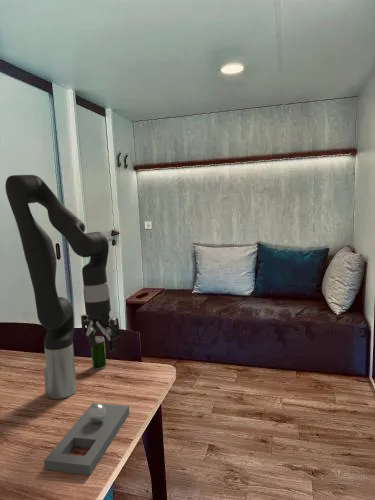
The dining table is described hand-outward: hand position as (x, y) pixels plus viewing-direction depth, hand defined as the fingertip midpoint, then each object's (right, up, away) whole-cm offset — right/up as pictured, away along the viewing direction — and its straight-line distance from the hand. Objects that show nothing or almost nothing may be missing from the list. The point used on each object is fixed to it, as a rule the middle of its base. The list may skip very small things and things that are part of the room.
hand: (102, 348), depth 110 cm
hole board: (0, -21, -12) cm, 25 cm away
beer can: (-9, -17, +33) cm, 39 cm away
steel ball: (+1, -16, -9) cm, 18 cm away
